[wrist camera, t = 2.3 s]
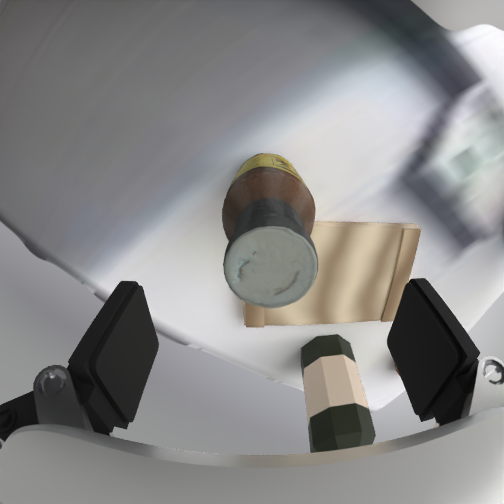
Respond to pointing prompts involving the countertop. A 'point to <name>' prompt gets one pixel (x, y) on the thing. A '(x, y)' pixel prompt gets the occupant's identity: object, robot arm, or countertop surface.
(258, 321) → the board
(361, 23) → the countertop surface
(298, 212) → the sauce bottle
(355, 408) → the wine bottle
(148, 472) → the robot arm
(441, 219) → the countertop surface
